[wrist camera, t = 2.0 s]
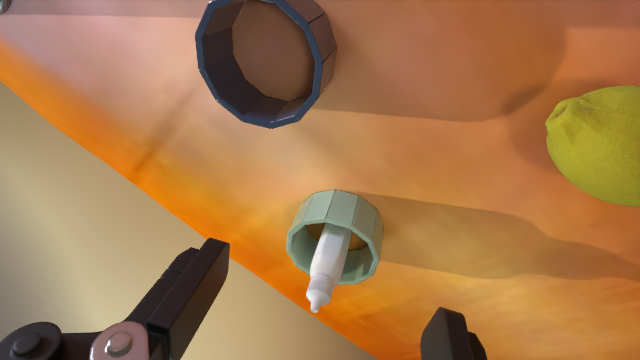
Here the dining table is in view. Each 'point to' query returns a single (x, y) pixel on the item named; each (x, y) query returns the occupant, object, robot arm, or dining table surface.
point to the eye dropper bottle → (327, 264)
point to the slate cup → (229, 79)
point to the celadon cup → (346, 214)
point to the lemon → (599, 143)
